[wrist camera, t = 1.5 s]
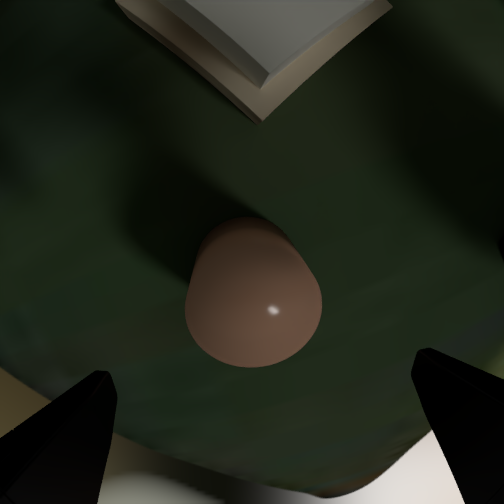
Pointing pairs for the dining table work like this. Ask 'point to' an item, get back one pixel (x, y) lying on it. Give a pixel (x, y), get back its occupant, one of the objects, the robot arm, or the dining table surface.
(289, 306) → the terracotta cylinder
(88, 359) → the dining table surface
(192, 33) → the tower base
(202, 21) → the tower top
